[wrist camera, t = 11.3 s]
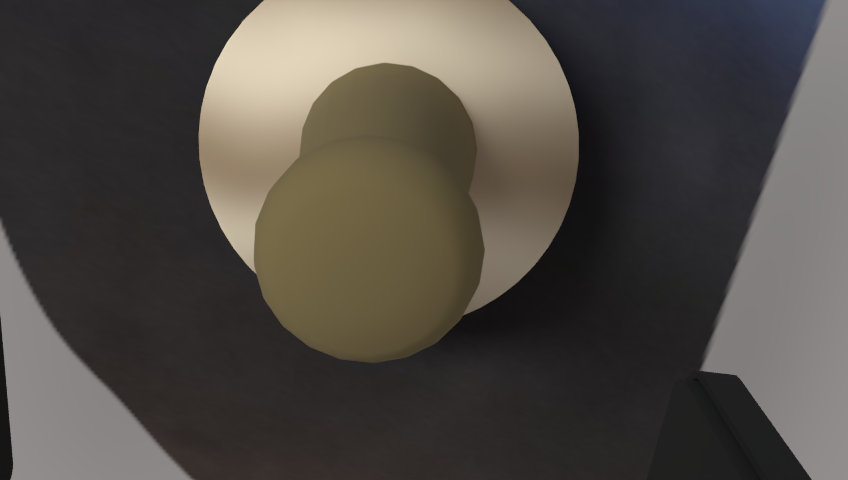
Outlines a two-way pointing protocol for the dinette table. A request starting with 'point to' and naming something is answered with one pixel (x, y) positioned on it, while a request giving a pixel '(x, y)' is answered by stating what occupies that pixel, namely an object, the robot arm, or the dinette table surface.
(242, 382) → the dinette table surface
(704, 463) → the robot arm
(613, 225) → the dinette table surface
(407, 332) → the olive pawn
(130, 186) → the dinette table surface
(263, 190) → the disc
